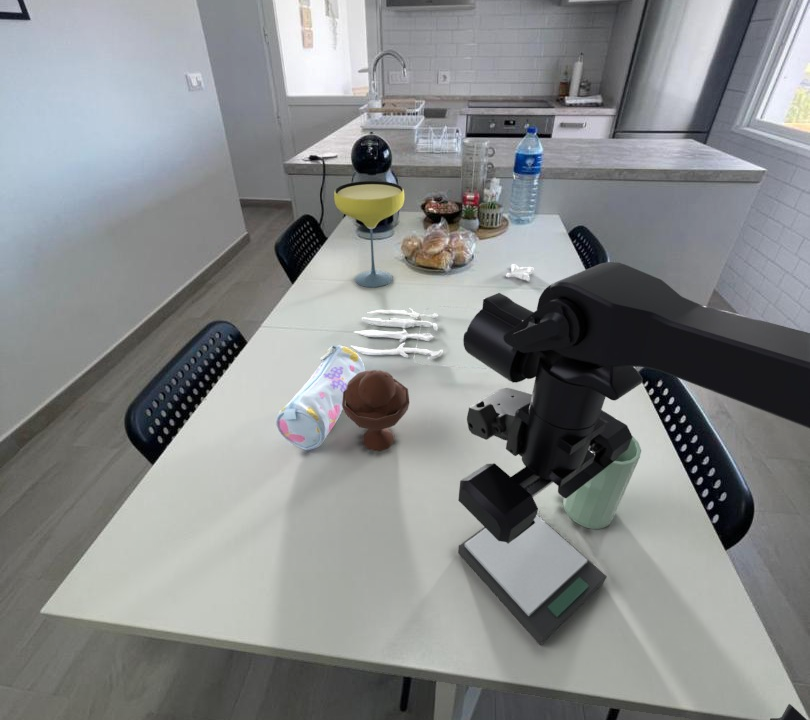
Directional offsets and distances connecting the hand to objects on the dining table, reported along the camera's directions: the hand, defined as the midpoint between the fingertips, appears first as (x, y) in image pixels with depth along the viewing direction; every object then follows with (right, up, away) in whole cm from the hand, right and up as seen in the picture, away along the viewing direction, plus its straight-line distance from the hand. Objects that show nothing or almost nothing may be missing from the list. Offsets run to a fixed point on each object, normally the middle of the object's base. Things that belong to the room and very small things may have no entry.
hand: (535, 516), depth 48 cm
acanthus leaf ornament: (+20, +42, +83) cm, 95 cm away
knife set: (-8, +23, +56) cm, 61 cm away
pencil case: (-28, +7, +35) cm, 45 cm away
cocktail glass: (-23, +40, +81) cm, 93 cm away
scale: (+2, -10, +10) cm, 15 cm away
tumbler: (+13, -5, +18) cm, 22 cm away
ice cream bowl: (-19, +3, +29) cm, 35 cm away
